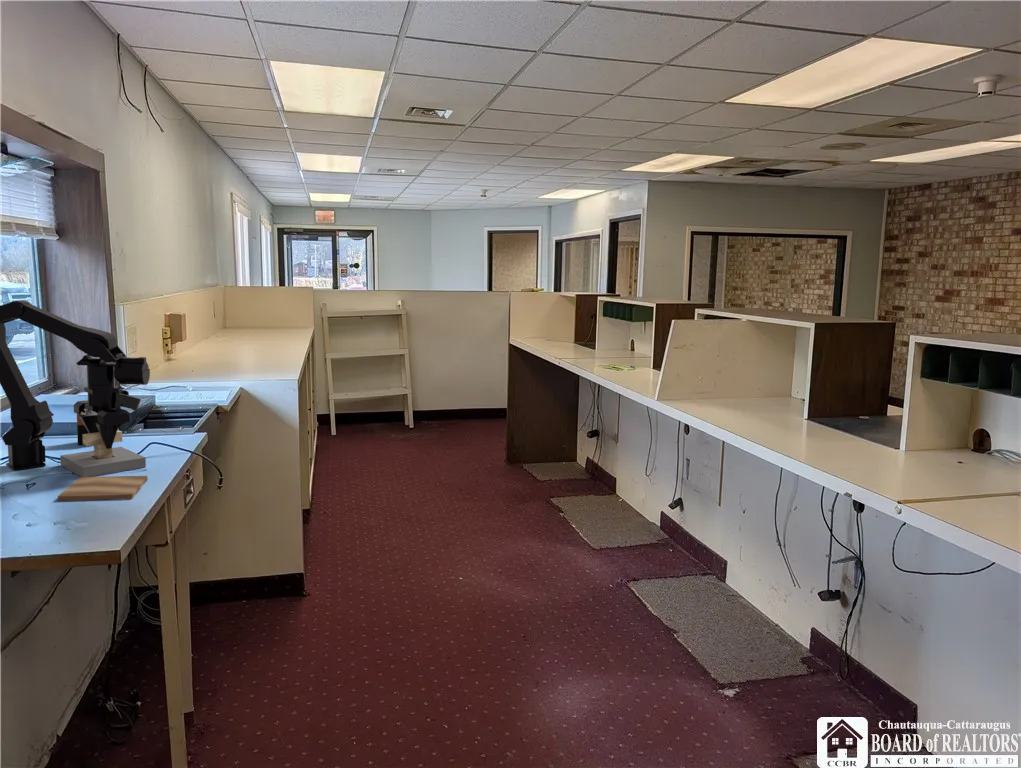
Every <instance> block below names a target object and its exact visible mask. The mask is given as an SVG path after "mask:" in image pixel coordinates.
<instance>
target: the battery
mask: <svg viewBox="0 0 1021 768" xmlns="http://www.w3.org/2000/svg"><path fill="white" fill-rule="evenodd" d="M78 415H82V412H81V414H77V413H76V431H77V432H76V433H77V434H76V435H77V436H76V437H77V444H78V446H84V445H83V434H89V433H88V431H87V429H86V427H85V426H84V424H83V422H82V421H81V419H80V418H79V417H78Z"/></svg>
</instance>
